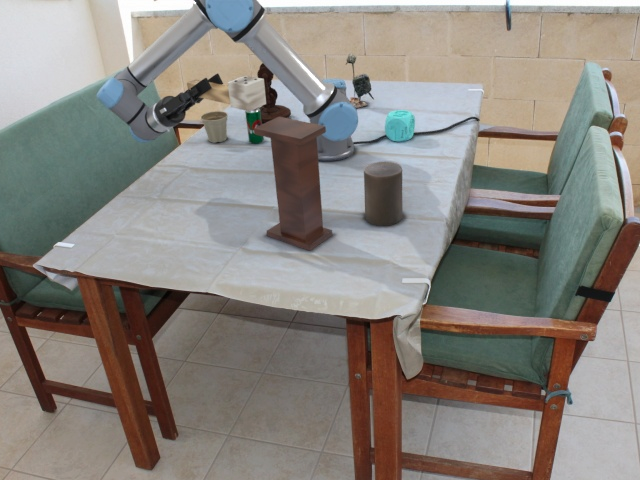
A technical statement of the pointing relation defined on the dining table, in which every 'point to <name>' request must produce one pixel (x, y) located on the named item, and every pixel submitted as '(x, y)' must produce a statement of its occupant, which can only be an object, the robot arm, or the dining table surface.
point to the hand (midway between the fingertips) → (213, 81)
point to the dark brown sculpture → (270, 98)
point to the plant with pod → (359, 84)
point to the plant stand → (296, 181)
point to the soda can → (254, 125)
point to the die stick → (237, 92)
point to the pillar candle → (383, 193)
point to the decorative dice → (400, 125)
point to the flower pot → (215, 125)
